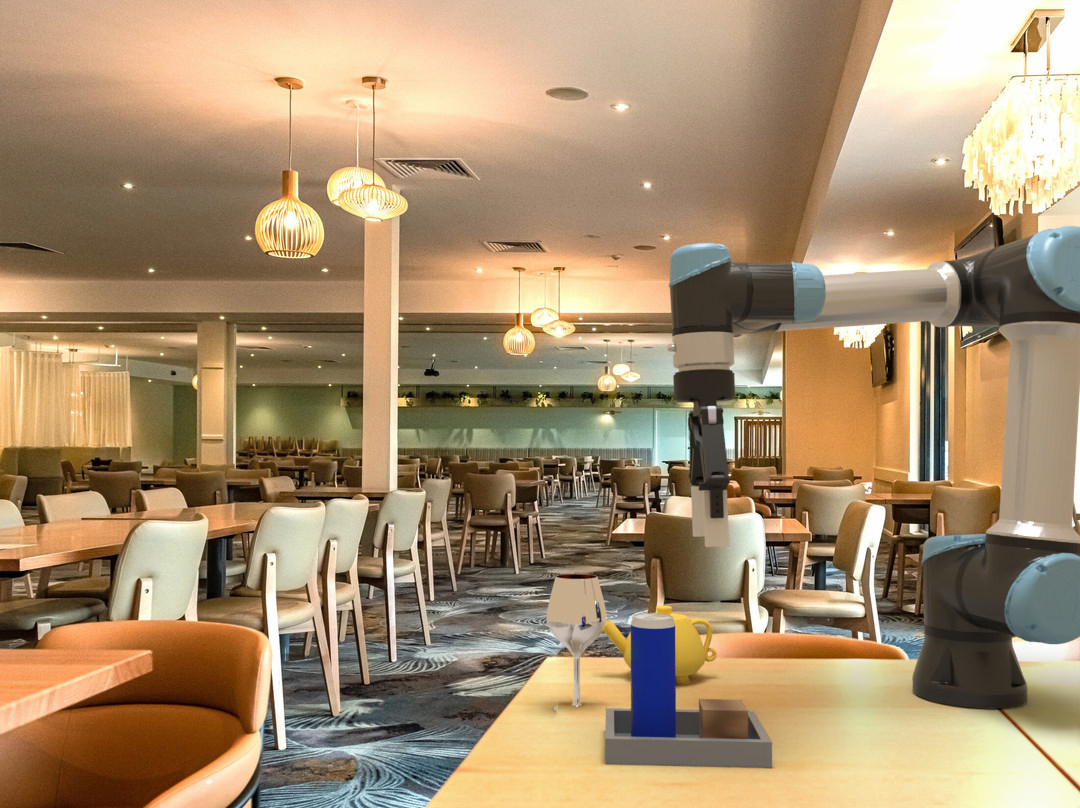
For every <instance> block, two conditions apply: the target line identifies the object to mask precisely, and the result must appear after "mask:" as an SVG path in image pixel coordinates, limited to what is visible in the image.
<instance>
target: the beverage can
mask: <svg viewBox="0 0 1080 808" xmlns="http://www.w3.org/2000/svg"><path fill="white" fill-rule="evenodd" d="M631 619H632V620H631V623H630V631H631V668H630V709H631V737H669V738H676V710H677V708H676V707H677V706H676V704H677V701H676V699H677V698H676V697H677V696H676V694H677V693H676V691H677V690H676V688H677V687H676V684H677V682H676V665H675V623H674V619H673V616H671V615H667V614H658V613H655V612H649V613H647V612H646V613H645V612H644V613H638V614H633V616H632V618H631Z"/></svg>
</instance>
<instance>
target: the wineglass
mask: <svg viewBox="0 0 1080 808" xmlns="http://www.w3.org/2000/svg"><path fill="white" fill-rule="evenodd" d="M607 618H608V617H607V608H606V605H605V600H604V596H603V593H602V589H601V585H600V581H599V577H598V576H597V575H595V574H587V573H586V574H585V573H570V574H569V573H567V574H559V575H555V578H554V581H553V585H552V589H551V592H550V596H549V601H548V605H547V611H546V623H547V626H548V629H549V630H550V632H551V633H552V635H553V636H554V637H555V638H556V639H557V641H559V642H560V643H561V644H562V645H563V646H564V647H565V648H566V649H567V650H568V651H569V652H570V654H571V655H572V657H573V700H572V703H571V706H573V707H580V706H582V705H583V704H582V701H581V695H580V693H581V688H580V677H581V676H580V674H581V673H580V671H581V670H580V665H581V663H580V662H581V661H580V658H581V655H582V654H583V653H584V652H585V650H586V649H587V648H588V647H589V646H590V645H591V644H593V642H595V640H597V639H598V638H599V637H600V636H601V634H602V633H603V632H604V631H603V630H604V628H605V625H606V622H608V621H607ZM558 707H559V704H556V705H555V706H553V711H554V712H555V713H557V712H558V709H559V708H558Z"/></svg>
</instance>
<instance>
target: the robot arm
mask: <svg viewBox="0 0 1080 808" xmlns="http://www.w3.org/2000/svg"><path fill="white" fill-rule="evenodd" d="M730 252H731V251H730V249H729V247H728V246H727V245H725V244H719V243H715V242H704V243H703V242H702V243H692V244H691V243H690V244H686V245H682V246H680V247H678V248H677V249H674V251H672V254H671V255H670V261H669V263H670V265H669V284H668V287H669V296H670V311H671V312H670V314H671V329H672V331H671V334H672V335H671V336H672V343H669V344H668V345H667V351H668V352H671V353H672V352H673V355H672V365H673V367H674V368H675V369H678V371H677V372H674V374H673V378H672V379H673V399H674V401H675V402H677V403H687V404H688V403H693V408H692V410H689V413H688V418H687V427H688V432H689V435H688V442H689V461H688V462H689V466H688V467H689V470H688V471H689V472H688V479H689V483H690V492H691V493H690V495H691V496H690V497H691V518H692V519H691V522H692V523H691V524H692V537H693V538H694V537H695V538H696V537H699V538H700V537H704V547H705V548H722V547H723V548H726V547H730V537H729V536H730V535H729V532H730V531H729V513H728V512H729V510H728V509H729V507H728V505H729V504H728V490H727V489H728V487H729V486H728V485H730V483H731V479H730V476H729V475H730V474H729V467H728V457H727V451H726V450H727V446H726V440H725V437H726V436H725V430H724V424H725V423H724V422H725V421H724V416H723V413H724V408H723V405H718V404H717V402H728V401H729V402H730V401H733V400H734V399H735V397H736V381H735V380H736V379H735V372H733V370H731V367H732V366H733V365H735V346H734V338H739V337H741V336H743V335H748V334H749V335H750V334H751V335H752V334H753V335H754V334H763V333H766V334H767V333H771V332H772V333H773V332H774V333H775V332H784V331H785V332H787V331H789V332H790V331H801V330H813V329H814V330H815V329H816V330H817V329H831V328H843V327H844V328H846V327H859V326H863V327H864V326H874V325H875V326H876V325H889V324H890V325H891V324H904V323H905V324H906V323H920V322H929V323H930V324H931V325H932V326H934V327H937V328H948V327H950V328H951V327H981V328H982V327H984V328H985V327H992V328H995V327H996V328H998V333H1000V334H1001V335H1002V336H1003V337H1004V338H1005V339H1006V340H1007V342H1008V343H1009V360H1008V377H1007V391H1006V407H1005V409H1006V410H1005V424H1004V440H1003V454H1002V456H1003V457H1002V468H1001V485H1000V486H1001V487H1000V502H999V517H998V520H996V522H995V523H994V524H993V525H991V526H990V527H988V528H987V529H986V530H985V533H976V534H973V533H972V534H956V535H955V534H954V535H953V534H952V535H951V534H949V535H939V536H938V535H936V536H931V537H929V538H927V539H926V540H925V541H924V543H923V546H922V547H923V548H922V558H921V567H922V586H923V587H922V590H923V623H924V624H923V625H924V626H923V627H924V628H923V629H924V630H923V631H924V633H923V634H924V637H923V638H924V639H923V642H922V645H921V648H920V652H919V654H918V657H917V658H918V659H917V660H916V664H915V667H914V669H913V673H912V680H911V681H912V693H913V694H915V695H916V696H918V697H919V698H922V699H925V700H928V701H932V702H936V703H940V704H945V705H951V706H957V707H965V708H973V709H974V708H978V709H1008V708H1017V707H1020V706H1023V705H1025V704H1026V703H1028V686H1027V681H1026V679H1025V677H1024V674H1023V671H1022V668H1021V666H1020V663H1019V660H1018V657H1017V654H1016V652H1015V649H1014V645H1013V636H1014V637H1017V638H1018V639H1021V640H1023V641H1025V642H1029V643H1042V644H1046V645H1061V644H1066V643H1070V642H1073V641H1074V640H1077V639H1078V638H1080V535H1079V533H1078V532H1077V531H1075V529H1074V527H1073V517H1074V516H1073V515H1074V499H1075V498H1074V497H1075V496H1074V495H1075V481H1076V479H1075V477H1076V465H1077V463H1076V461H1077V445H1078V425H1079V410H1080V409H1079V408H1080V226H1075V225H1065V226H1061V227H1056V228H1047V229H1043V230H1040V231H1039V232H1037V233H1034V234H1033V235H1029V236H1027V237H1024V238H1019V239H1018V240H1015V241H1012V242H1009V243H1006V244H1003V245H999V246H995V247H993V248H990V249H987V250H985V251H982V252H978V253H975V254H973V255H969V256H966V257H962V258H957V259H951V260H950V259H949V260H938V261H935V262H933V263H931V264H930V265H928V267H927V268H923V269H922V268H921V269H909V270H908V269H906V270H890V271H875V272H874V271H873V272H859V273H857V272H856V273H855V272H854V273H841V274H838V273H837V274H827V275H825V274H824V275H823V272H822V270H820V268H819V267H818V266H817V265H815V264H813V263H801V262H795V261H791V262H737V261H732V257H731V254H730Z"/></svg>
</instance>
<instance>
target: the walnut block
mask: <svg viewBox="0 0 1080 808" xmlns="http://www.w3.org/2000/svg"><path fill="white" fill-rule="evenodd" d="M698 710H699V738H716V739H748V711H749V710H748V709H747V707H746V705H745V703H744V701H743V700H742V699H725V698H723V699H721V698H719V699H718V698H717V699H716V698H715V699H714V698H698Z"/></svg>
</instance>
